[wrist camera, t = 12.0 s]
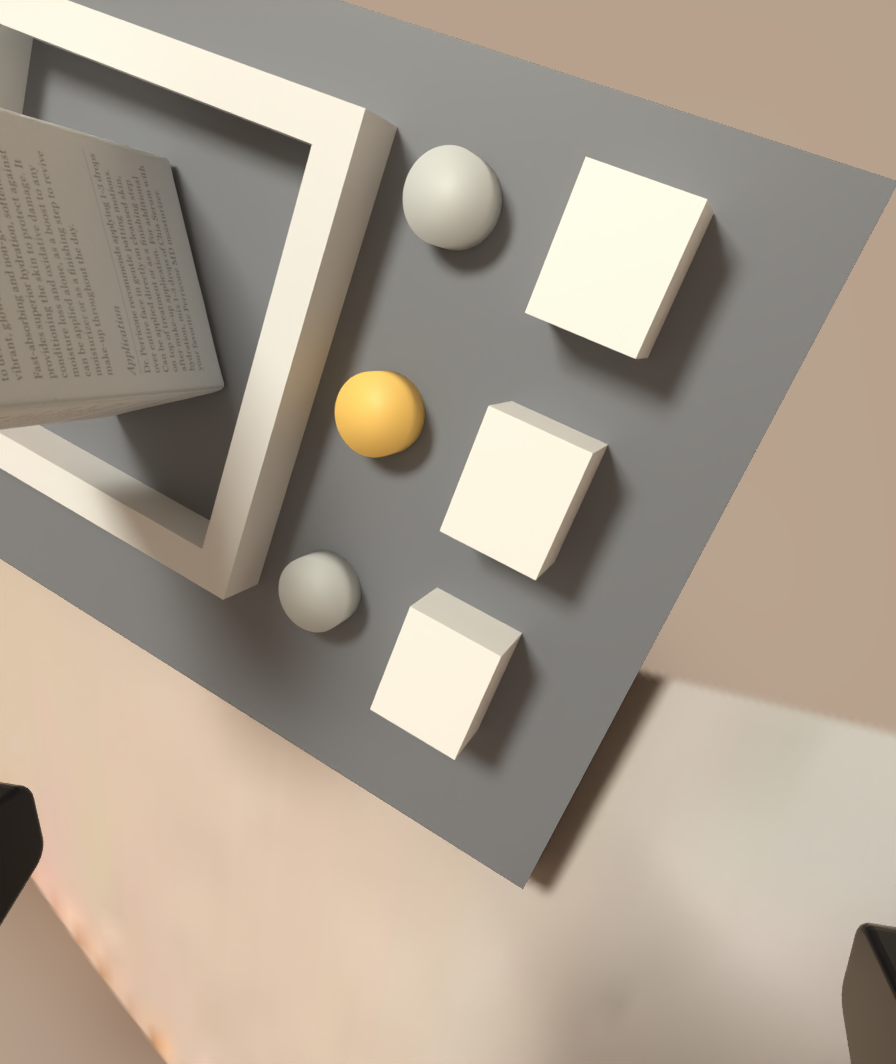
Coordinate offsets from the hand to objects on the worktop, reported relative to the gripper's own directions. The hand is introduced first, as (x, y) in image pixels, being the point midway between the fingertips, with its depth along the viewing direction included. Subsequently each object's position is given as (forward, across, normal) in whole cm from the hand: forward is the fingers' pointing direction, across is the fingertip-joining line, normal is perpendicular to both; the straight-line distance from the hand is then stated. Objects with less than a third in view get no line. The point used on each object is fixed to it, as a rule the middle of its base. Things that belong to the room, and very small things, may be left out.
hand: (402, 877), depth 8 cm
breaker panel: (+14, +7, -3) cm, 16 cm away
